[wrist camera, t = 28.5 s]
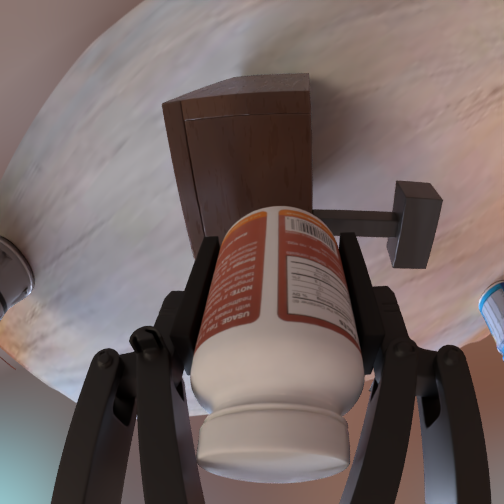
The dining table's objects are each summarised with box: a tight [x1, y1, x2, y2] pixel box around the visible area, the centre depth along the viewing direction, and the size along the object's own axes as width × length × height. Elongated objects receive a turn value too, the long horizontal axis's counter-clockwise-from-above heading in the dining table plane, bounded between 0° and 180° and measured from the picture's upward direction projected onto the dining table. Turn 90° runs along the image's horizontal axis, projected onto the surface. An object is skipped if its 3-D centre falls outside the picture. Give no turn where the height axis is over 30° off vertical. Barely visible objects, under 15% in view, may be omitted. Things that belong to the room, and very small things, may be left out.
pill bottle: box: [190, 206, 365, 483], centre depth 12 cm, size 6×6×11 cm
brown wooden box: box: [162, 73, 443, 269], centre depth 25 cm, size 19×16×16 cm
